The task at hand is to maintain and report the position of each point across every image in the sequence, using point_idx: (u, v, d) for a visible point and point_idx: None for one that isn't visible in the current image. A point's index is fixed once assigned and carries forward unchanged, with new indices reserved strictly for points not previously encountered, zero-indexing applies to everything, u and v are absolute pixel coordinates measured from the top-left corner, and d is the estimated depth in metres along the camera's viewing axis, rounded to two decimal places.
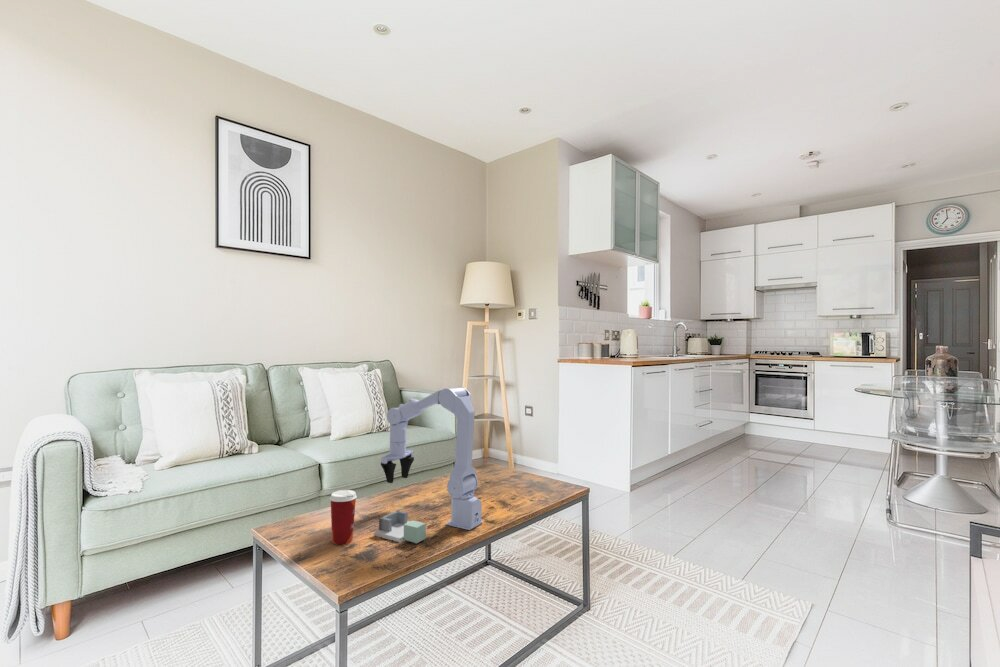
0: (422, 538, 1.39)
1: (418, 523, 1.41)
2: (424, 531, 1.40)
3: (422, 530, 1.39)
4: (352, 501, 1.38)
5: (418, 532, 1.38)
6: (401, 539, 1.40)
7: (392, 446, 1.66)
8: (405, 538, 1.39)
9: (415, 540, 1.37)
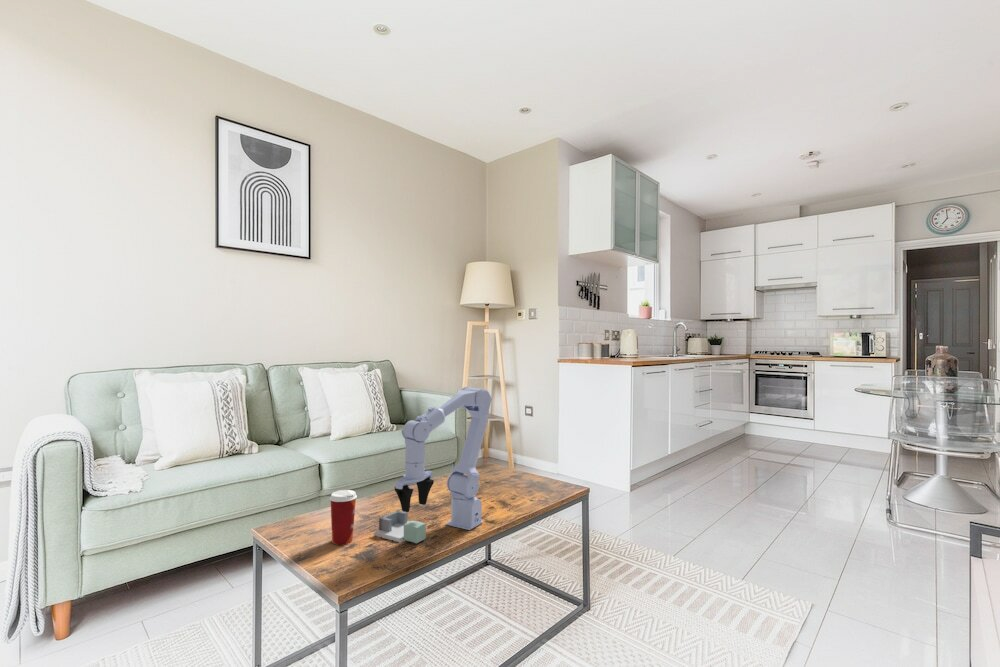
0: (422, 538, 1.39)
1: (418, 523, 1.41)
2: (424, 531, 1.40)
3: (422, 530, 1.39)
4: (352, 501, 1.38)
5: (418, 532, 1.38)
6: (401, 539, 1.40)
7: (409, 468, 1.39)
8: (405, 538, 1.39)
9: (415, 540, 1.37)
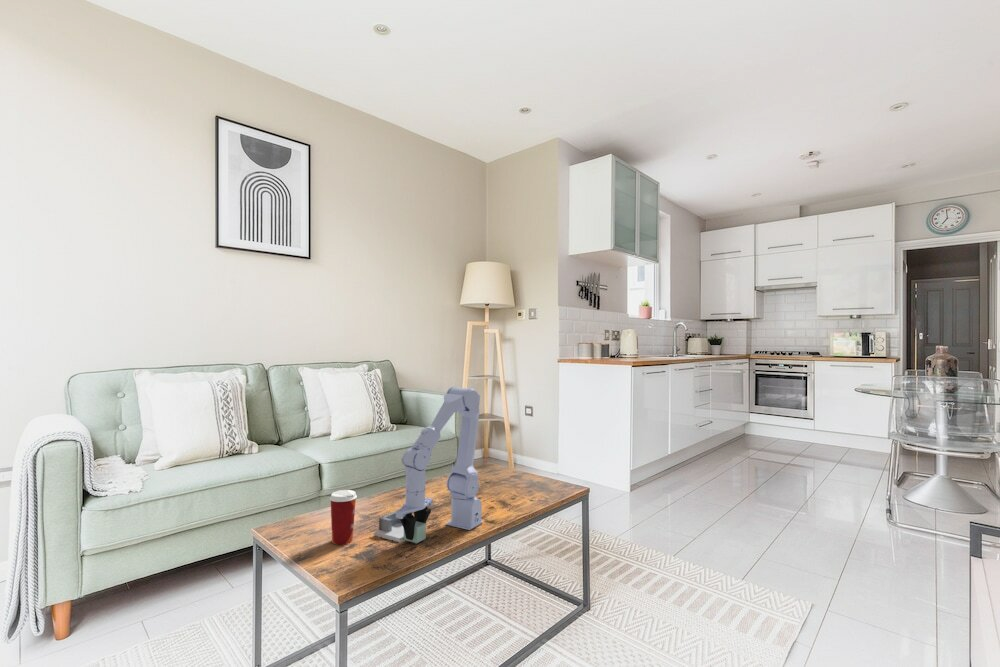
0: (422, 538, 1.39)
1: (418, 523, 1.41)
2: (424, 531, 1.40)
3: (422, 530, 1.39)
4: (352, 501, 1.38)
5: (418, 532, 1.38)
6: (401, 539, 1.40)
7: (409, 496, 1.38)
8: (405, 538, 1.39)
9: (415, 540, 1.37)
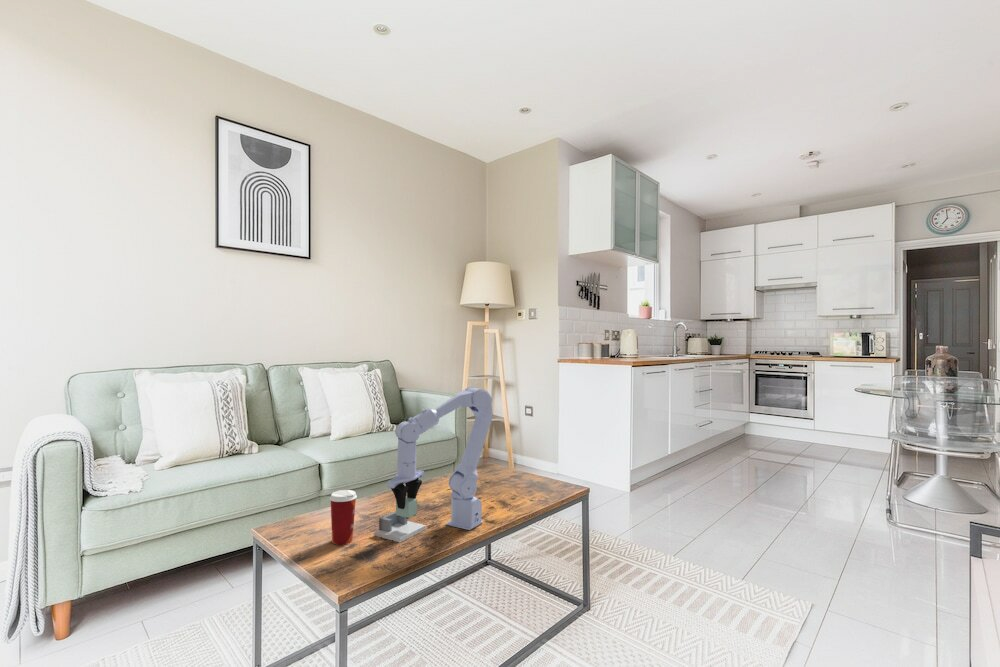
0: (414, 513, 1.45)
1: (410, 499, 1.46)
2: (416, 506, 1.46)
3: (413, 505, 1.45)
4: (352, 501, 1.38)
5: (410, 507, 1.44)
6: (401, 539, 1.40)
7: (400, 467, 1.44)
8: (397, 513, 1.45)
9: (407, 515, 1.43)
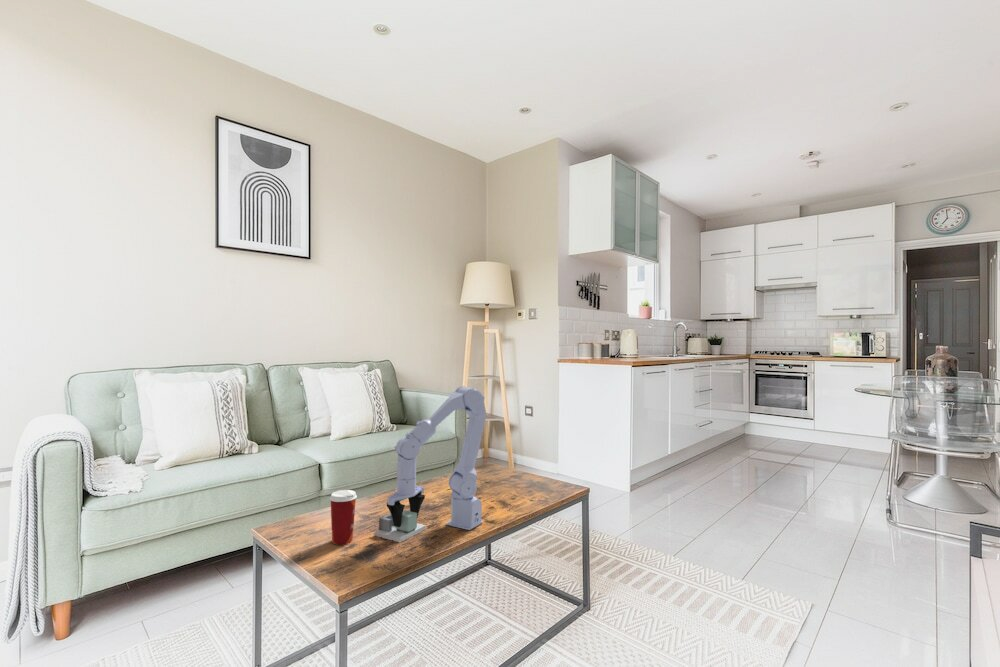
0: (413, 527, 1.45)
1: (409, 512, 1.46)
2: (416, 520, 1.46)
3: (413, 519, 1.45)
4: (352, 501, 1.38)
5: (409, 521, 1.43)
6: (401, 539, 1.40)
7: (400, 484, 1.44)
8: (397, 527, 1.45)
9: (406, 529, 1.43)
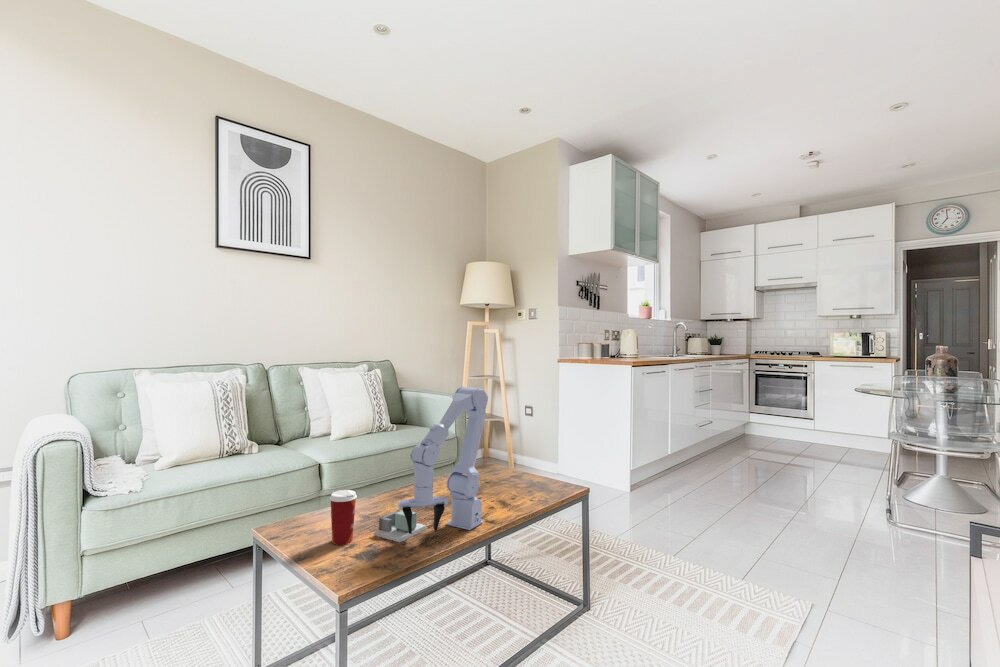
0: (413, 526, 1.45)
1: None
2: (415, 520, 1.46)
3: (412, 519, 1.45)
4: (352, 501, 1.38)
5: None
6: (401, 539, 1.40)
7: (414, 490, 1.42)
8: (396, 526, 1.45)
9: (406, 528, 1.43)
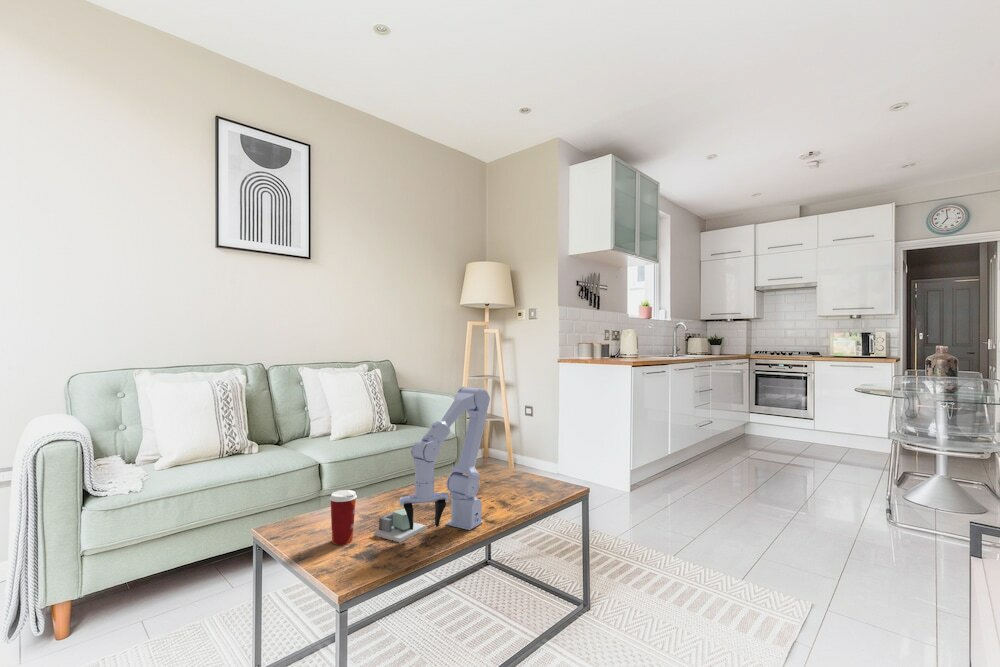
0: (409, 526, 1.46)
1: None
2: None
3: None
4: (352, 501, 1.38)
5: (405, 520, 1.44)
6: (401, 539, 1.40)
7: (415, 486, 1.42)
8: (394, 525, 1.46)
9: (402, 527, 1.44)
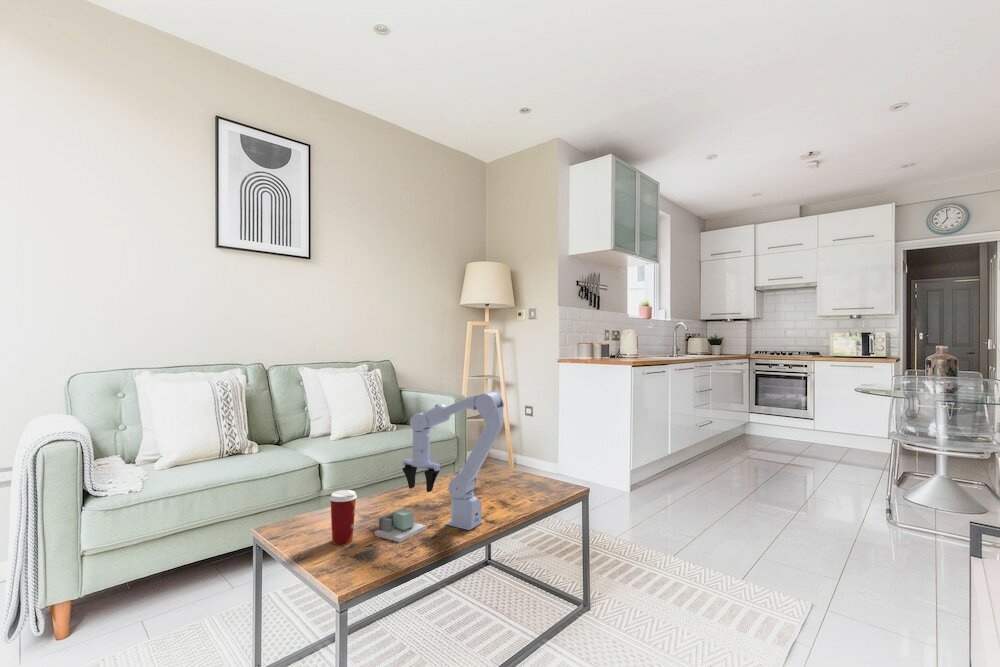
0: (409, 526, 1.46)
1: (406, 511, 1.47)
2: (412, 519, 1.47)
3: (409, 518, 1.46)
4: (352, 501, 1.38)
5: (405, 520, 1.44)
6: (401, 539, 1.40)
7: None
8: (394, 525, 1.46)
9: (402, 527, 1.44)
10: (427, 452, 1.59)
